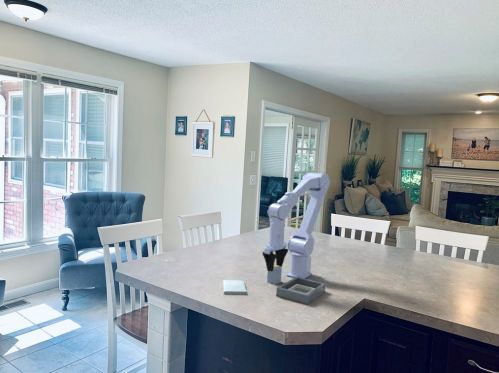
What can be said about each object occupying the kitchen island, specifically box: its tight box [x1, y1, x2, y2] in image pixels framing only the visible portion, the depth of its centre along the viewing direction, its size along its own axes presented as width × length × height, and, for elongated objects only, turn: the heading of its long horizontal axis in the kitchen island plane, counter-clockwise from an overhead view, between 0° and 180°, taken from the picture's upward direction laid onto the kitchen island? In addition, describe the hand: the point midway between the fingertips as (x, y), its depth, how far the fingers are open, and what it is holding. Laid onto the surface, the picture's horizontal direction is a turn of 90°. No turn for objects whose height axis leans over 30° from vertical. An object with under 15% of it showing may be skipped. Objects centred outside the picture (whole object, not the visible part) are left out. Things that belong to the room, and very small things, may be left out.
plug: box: [266, 263, 283, 285], centre depth 152 cm, size 4×4×7 cm
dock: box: [275, 277, 327, 305], centre depth 140 cm, size 16×12×3 cm
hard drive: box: [222, 279, 248, 295], centre depth 142 cm, size 2×8×12 cm
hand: (274, 268), depth 151 cm, fingers open, 7 cm apart
